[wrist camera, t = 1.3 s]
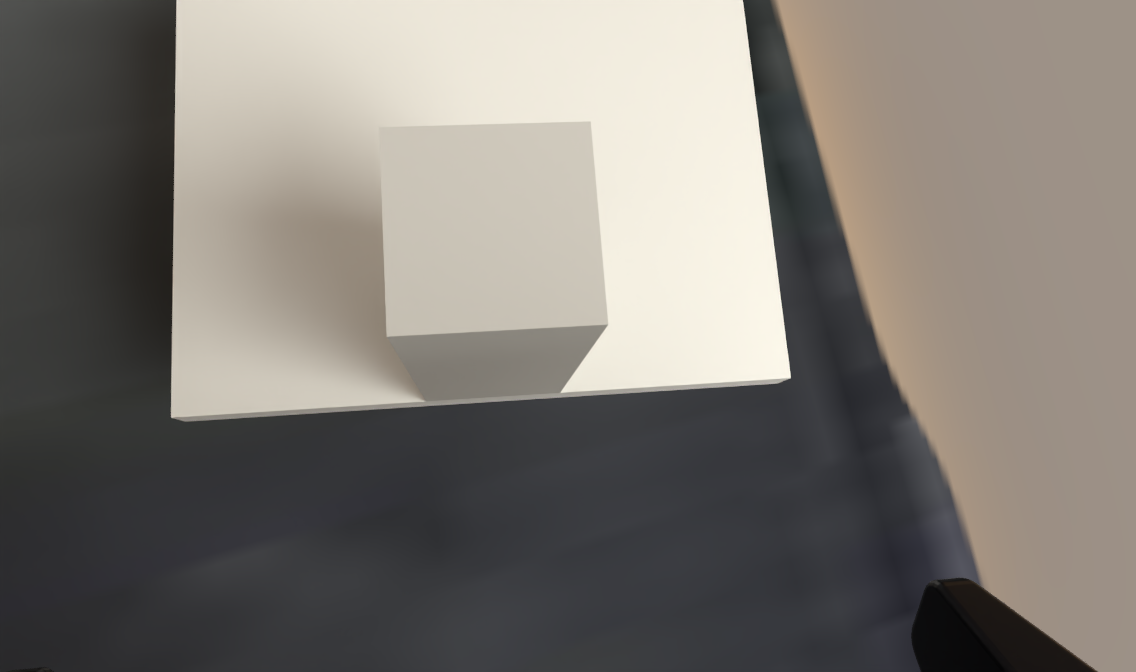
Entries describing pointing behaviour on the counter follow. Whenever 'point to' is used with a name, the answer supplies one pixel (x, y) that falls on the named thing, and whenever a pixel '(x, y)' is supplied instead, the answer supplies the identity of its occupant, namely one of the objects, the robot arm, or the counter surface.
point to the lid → (465, 204)
